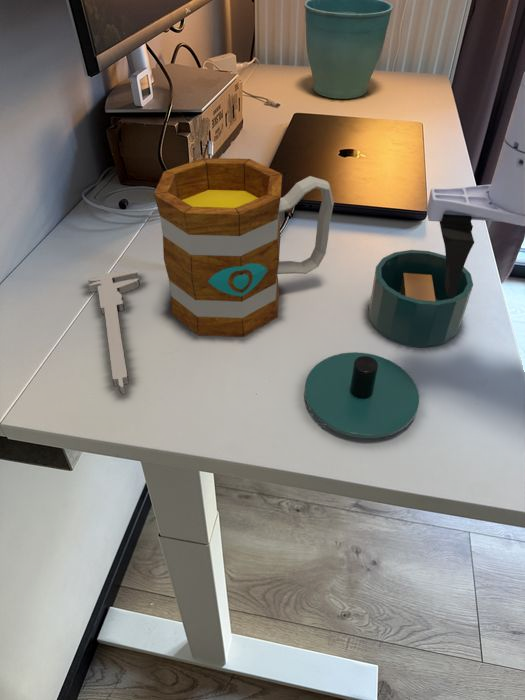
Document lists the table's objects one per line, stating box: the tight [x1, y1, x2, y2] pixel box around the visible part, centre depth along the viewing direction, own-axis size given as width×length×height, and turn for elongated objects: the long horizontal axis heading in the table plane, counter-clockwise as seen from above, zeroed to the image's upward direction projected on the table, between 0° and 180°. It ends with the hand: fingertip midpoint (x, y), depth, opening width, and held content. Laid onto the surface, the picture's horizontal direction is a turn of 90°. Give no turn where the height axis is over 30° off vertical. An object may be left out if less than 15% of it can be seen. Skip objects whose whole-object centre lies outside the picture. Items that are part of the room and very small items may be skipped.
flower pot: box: [304, 0, 394, 100], centre depth 117 cm, size 18×18×17 cm
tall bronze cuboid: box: [400, 273, 436, 301], centre depth 61 cm, size 3×6×4 cm, turn 172°
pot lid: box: [304, 352, 420, 439], centre depth 52 cm, size 11×11×5 cm
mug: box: [153, 157, 335, 338], centre depth 61 cm, size 20×14×15 cm
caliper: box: [87, 270, 141, 395], centre depth 61 cm, size 20×1×6 cm
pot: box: [368, 249, 474, 348], centre depth 61 cm, size 10×10×6 cm
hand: (493, 293), depth 49 cm, fingers open, 7 cm apart
